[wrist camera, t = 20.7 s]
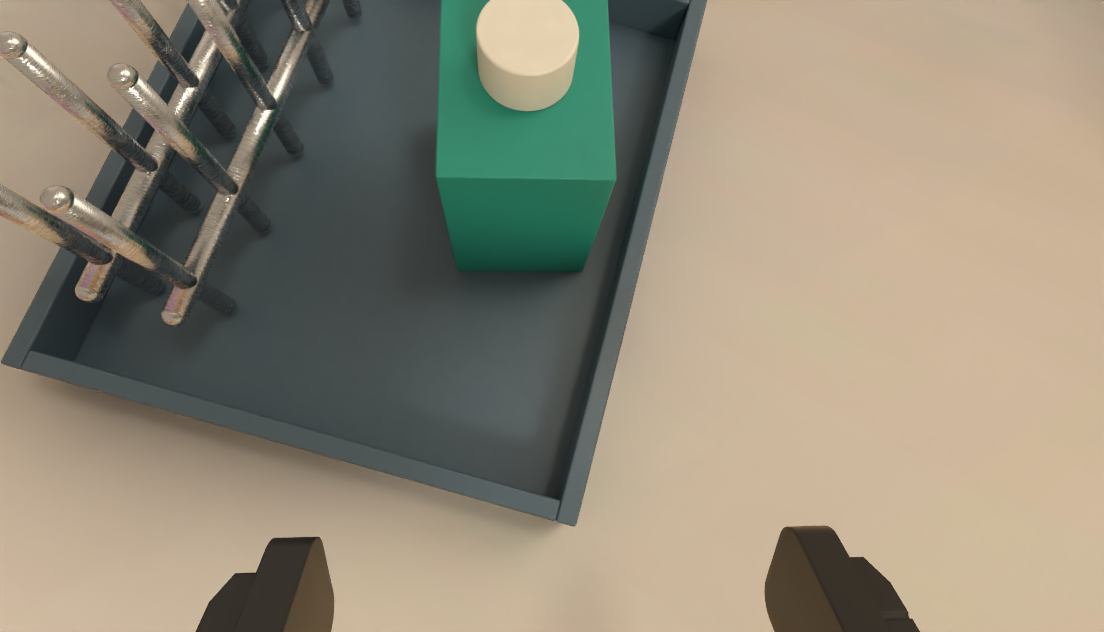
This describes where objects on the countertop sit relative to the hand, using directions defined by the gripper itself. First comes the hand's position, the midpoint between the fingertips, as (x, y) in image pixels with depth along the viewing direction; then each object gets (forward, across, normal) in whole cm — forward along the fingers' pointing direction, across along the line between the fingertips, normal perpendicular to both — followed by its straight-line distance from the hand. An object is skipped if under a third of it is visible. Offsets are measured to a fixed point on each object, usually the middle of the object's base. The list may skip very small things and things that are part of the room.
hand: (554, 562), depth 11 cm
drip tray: (+15, +4, -2) cm, 16 cm away
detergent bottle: (+14, 0, -2) cm, 15 cm away
